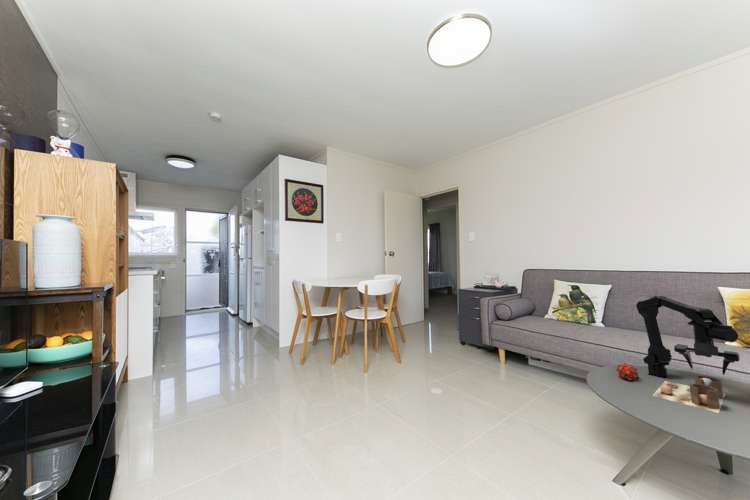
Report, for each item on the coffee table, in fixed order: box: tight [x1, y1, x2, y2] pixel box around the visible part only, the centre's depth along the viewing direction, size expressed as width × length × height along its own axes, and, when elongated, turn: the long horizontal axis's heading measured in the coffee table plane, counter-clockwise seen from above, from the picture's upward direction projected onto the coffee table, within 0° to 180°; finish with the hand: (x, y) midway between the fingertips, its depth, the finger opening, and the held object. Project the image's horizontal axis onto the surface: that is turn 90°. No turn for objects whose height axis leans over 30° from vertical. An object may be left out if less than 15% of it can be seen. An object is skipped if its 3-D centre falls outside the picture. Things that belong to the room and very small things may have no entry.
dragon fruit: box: [615, 362, 640, 381], centre depth 145 cm, size 8×8×12 cm
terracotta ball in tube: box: [699, 394, 708, 405], centre depth 117 cm, size 4×4×4 cm
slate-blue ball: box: [701, 378, 711, 386], centre depth 125 cm, size 4×4×4 cm
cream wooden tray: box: [652, 375, 726, 414], centre depth 125 cm, size 19×26×8 cm
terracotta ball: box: [659, 384, 673, 394], centre depth 127 cm, size 4×4×4 cm
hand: (707, 371), depth 125 cm, fingers open, 9 cm apart
